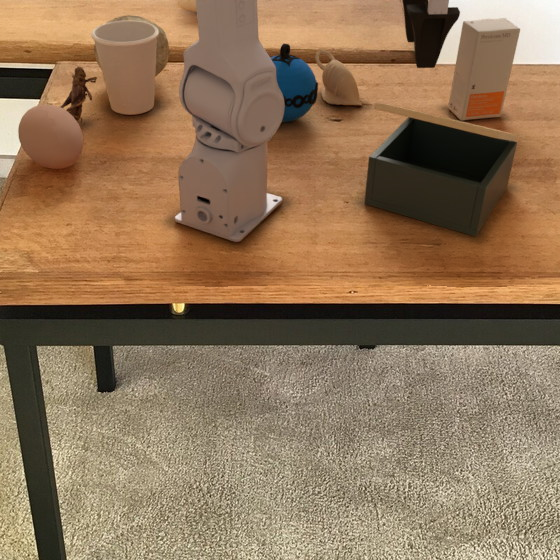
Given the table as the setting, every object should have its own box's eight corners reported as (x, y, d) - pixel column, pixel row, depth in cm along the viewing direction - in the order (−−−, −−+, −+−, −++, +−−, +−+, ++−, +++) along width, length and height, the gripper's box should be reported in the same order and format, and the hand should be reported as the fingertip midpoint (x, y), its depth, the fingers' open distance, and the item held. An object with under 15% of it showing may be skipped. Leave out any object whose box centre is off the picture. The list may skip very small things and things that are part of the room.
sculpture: (107, 93, 109) (83, 37, 100) (107, 75, 111) (83, 19, 102) (177, 79, 108) (159, 22, 100) (176, 62, 110) (158, 5, 102)
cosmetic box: (461, 122, 101) (477, 31, 94) (447, 108, 104) (461, 20, 97) (502, 117, 102) (521, 28, 95) (487, 104, 106) (504, 16, 98)
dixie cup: (158, 120, 99) (152, 44, 93) (94, 117, 100) (83, 41, 94) (169, 93, 106) (163, 20, 100) (108, 91, 106) (99, 18, 100)
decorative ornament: (336, 111, 103) (338, 73, 100) (309, 87, 109) (311, 50, 106) (363, 106, 104) (366, 68, 101) (335, 83, 110) (337, 46, 107)
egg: (11, 151, 92) (39, 188, 85) (5, 97, 88) (34, 131, 81) (66, 142, 95) (97, 176, 89) (63, 89, 91) (95, 121, 85)
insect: (66, 133, 100) (44, 124, 95) (77, 68, 100) (56, 56, 95) (96, 137, 99) (76, 128, 94) (107, 71, 99) (88, 59, 94)
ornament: (270, 100, 105) (271, 27, 99) (327, 114, 102) (331, 40, 96) (238, 124, 99) (237, 48, 93) (297, 140, 96) (300, 62, 90)
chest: (475, 237, 80) (486, 188, 76) (364, 204, 84) (368, 156, 81) (507, 187, 88) (517, 141, 84) (403, 160, 92) (409, 115, 89)
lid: (496, 138, 73) (498, 131, 73) (374, 108, 78) (375, 101, 78) (517, 141, 84) (519, 135, 84) (409, 115, 89) (410, 109, 89)
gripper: (485, -49, 78) (465, 78, 86) (457, -86, 89) (443, 30, 98) (415, -48, 78) (403, 79, 86) (396, -85, 89) (387, 31, 98)
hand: (420, 53), depth 92 cm, fingers open, 7 cm apart
